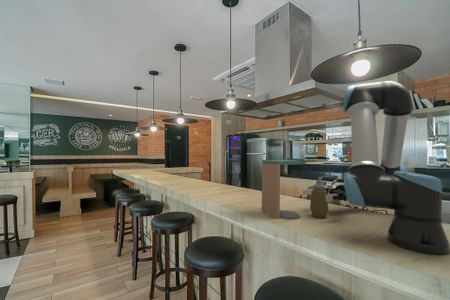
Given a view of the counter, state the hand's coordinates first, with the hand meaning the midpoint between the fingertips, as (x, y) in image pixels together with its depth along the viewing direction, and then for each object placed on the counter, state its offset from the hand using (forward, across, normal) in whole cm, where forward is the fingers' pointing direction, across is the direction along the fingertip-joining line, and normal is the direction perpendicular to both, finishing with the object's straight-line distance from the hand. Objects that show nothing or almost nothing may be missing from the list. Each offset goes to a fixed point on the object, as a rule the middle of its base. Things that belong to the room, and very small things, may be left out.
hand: (314, 195), depth 100 cm
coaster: (+10, +7, -10) cm, 16 cm away
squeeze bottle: (-3, 0, -10) cm, 11 cm away
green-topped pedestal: (+10, +10, -10) cm, 17 cm away
